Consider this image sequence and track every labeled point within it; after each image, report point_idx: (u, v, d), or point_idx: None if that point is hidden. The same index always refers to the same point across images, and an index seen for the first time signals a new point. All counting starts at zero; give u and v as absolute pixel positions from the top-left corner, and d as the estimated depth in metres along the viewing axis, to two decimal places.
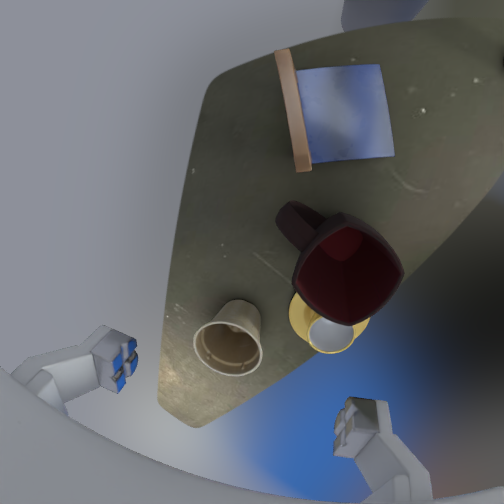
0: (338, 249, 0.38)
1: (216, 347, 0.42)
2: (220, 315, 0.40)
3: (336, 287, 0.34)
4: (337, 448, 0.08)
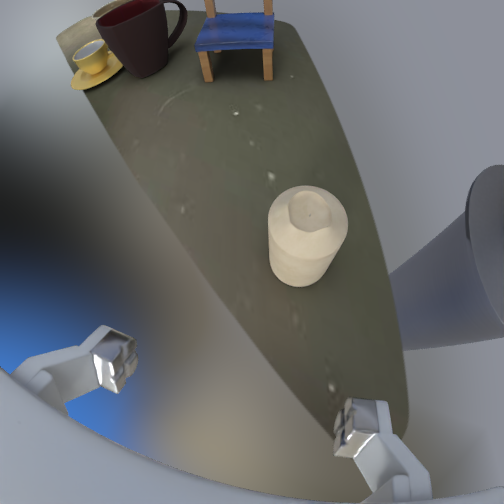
0: None
1: None
2: None
3: None
4: (336, 448, 0.08)
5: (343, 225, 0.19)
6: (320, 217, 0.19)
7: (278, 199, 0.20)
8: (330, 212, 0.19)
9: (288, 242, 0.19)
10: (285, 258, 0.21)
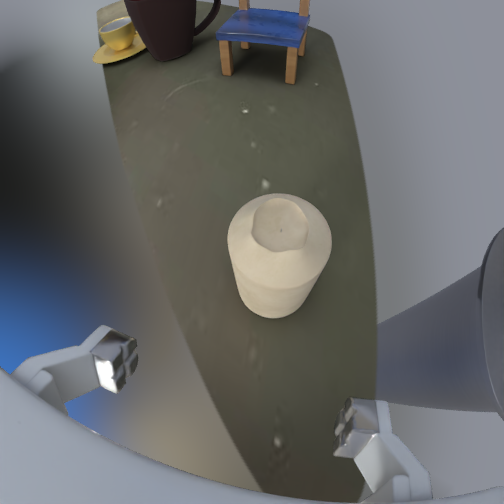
0: None
1: None
2: None
3: None
4: (336, 448, 0.08)
5: (323, 252, 0.15)
6: (294, 235, 0.15)
7: (248, 204, 0.16)
8: (308, 231, 0.15)
9: (245, 259, 0.15)
10: (242, 279, 0.16)
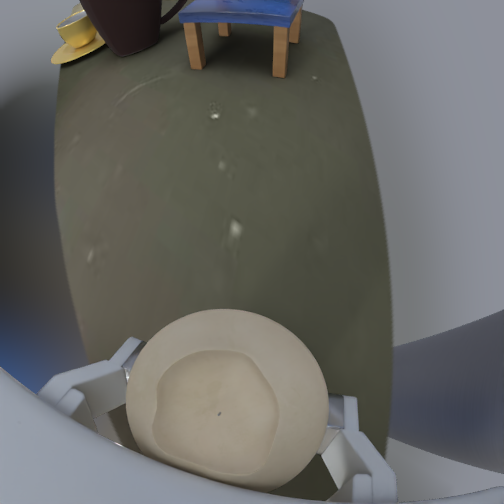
0: None
1: None
2: None
3: None
4: None
5: (307, 448, 0.06)
6: (247, 423, 0.06)
7: (160, 338, 0.07)
8: (276, 424, 0.06)
9: (152, 456, 0.06)
10: None
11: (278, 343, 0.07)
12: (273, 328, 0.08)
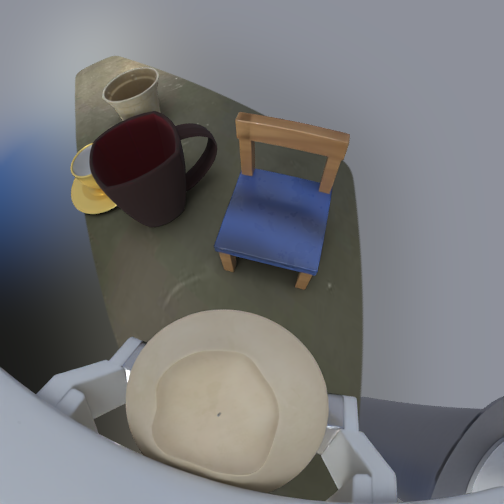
0: None
1: (134, 87, 0.42)
2: (156, 94, 0.41)
3: (125, 168, 0.34)
4: None
5: (307, 448, 0.06)
6: (246, 424, 0.06)
7: (160, 338, 0.07)
8: (275, 425, 0.06)
9: (151, 457, 0.06)
10: None
11: (278, 344, 0.07)
12: (273, 329, 0.08)
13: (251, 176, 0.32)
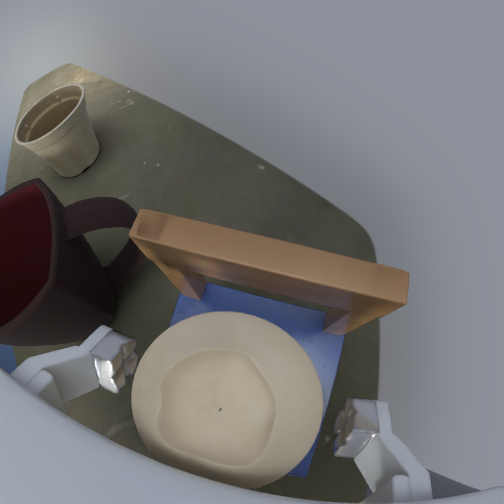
0: None
1: (62, 113, 0.28)
2: (85, 123, 0.26)
3: (26, 259, 0.20)
4: (336, 448, 0.08)
5: (302, 442, 0.07)
6: (246, 418, 0.07)
7: (164, 338, 0.08)
8: (273, 419, 0.06)
9: (156, 450, 0.06)
10: None
11: (275, 344, 0.08)
12: (271, 329, 0.08)
13: (199, 300, 0.17)
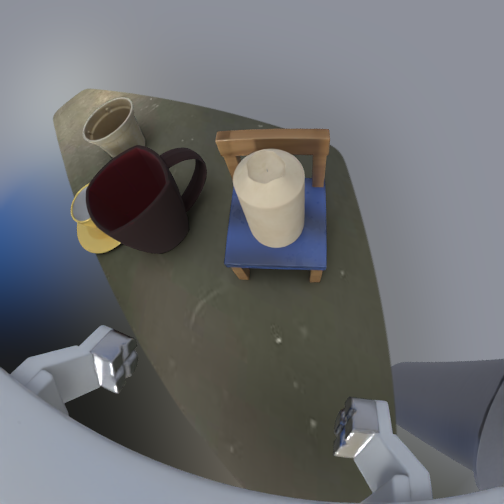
0: None
1: (112, 120, 0.44)
2: (135, 122, 0.42)
3: (123, 204, 0.36)
4: (336, 448, 0.08)
5: (298, 178, 0.22)
6: (276, 172, 0.22)
7: (242, 160, 0.23)
8: (284, 166, 0.21)
9: (247, 194, 0.22)
10: (249, 211, 0.23)
11: (280, 151, 0.23)
12: (278, 149, 0.23)
13: None
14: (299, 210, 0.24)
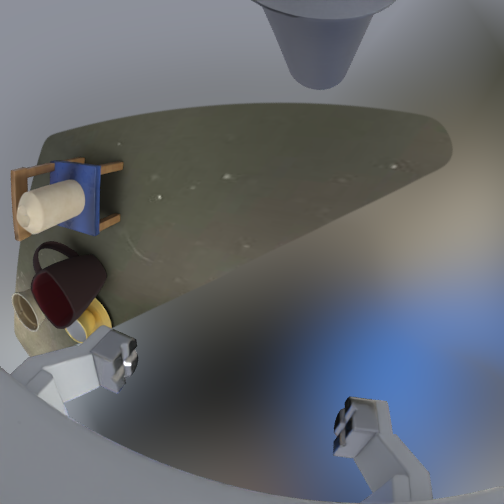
0: None
1: (28, 308, 0.52)
2: (27, 290, 0.50)
3: None
4: (336, 448, 0.08)
5: (29, 196, 0.28)
6: (26, 209, 0.29)
7: None
8: (22, 205, 0.28)
9: (36, 227, 0.29)
10: (49, 224, 0.31)
11: (18, 205, 0.29)
12: None
13: None
14: (51, 191, 0.31)
